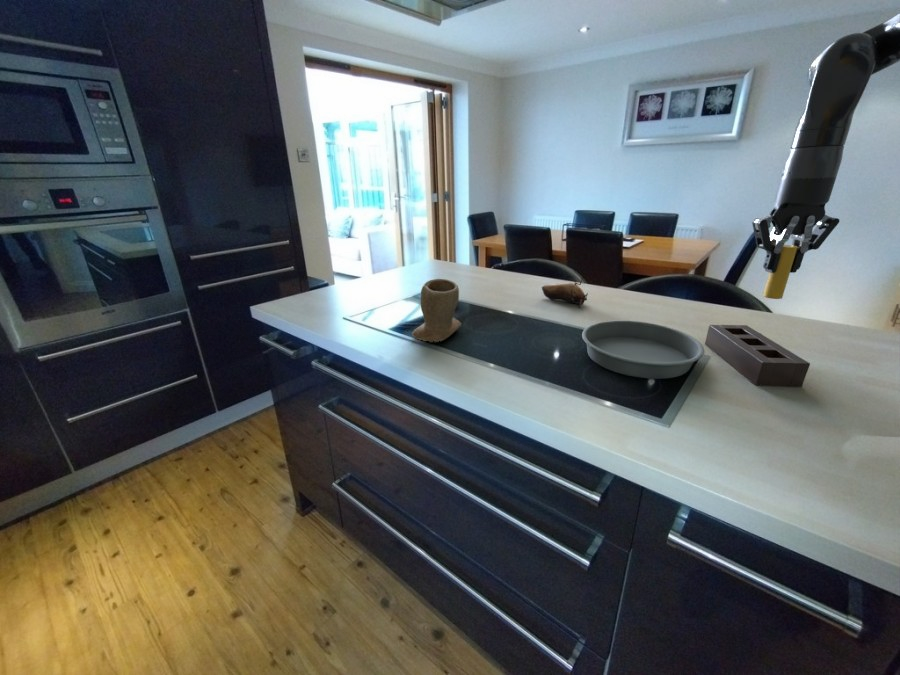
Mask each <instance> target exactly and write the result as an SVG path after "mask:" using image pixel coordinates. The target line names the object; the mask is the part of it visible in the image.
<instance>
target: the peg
mask: <svg viewBox="0 0 900 675" xmlns="http://www.w3.org/2000/svg"><path fill="white" fill-rule="evenodd" d="M797 248H798V247H797V246H793V245H792V244H784V246H783V248H782V250H781V252H780V254H781V255H780V259H779V262H778V266H777V269H776V272H775V273H769V272H768V273H769V274H768V277H767V281H766V284H765V287H764V291H763V297H765V298H767V299H771V300H782V299H783V297H784V294H785V290H786V288H787V285H788V284H787V283H788V281H789V277H790V274H791V273H790V271H791V267H792V264H793V261H794V257H795V254H796V251H797Z"/></svg>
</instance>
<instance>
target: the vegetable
mask: <svg viewBox="0 0 900 675" xmlns="http://www.w3.org/2000/svg"><path fill="white" fill-rule="evenodd" d="M584 278H585V277H584V276H581V278H578V279H577V280H578V281H579V283H578V282H577V281H575V280H574V282H569V281H567V282H560V283H553V284H544V285H542V286H541V290H542V293H543V295H544V296H545V298H547V299H549V300H555V301H556V300H558V301H564V302H568V303H571V304H576V305H577V306H578V308H581V307H582V305H583V304H584V303H585V301H588V295H589V292H587V293H585V291H584V290H583V289H582V288H581V287H580V285H582V284H584V283H583V282H582V281H583V279H584Z"/></svg>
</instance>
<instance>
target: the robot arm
mask: <svg viewBox="0 0 900 675" xmlns="http://www.w3.org/2000/svg"><path fill="white" fill-rule="evenodd" d="M899 62H900V12H898V13H897V14H895V15H894V16H893V17H891V18H889V19H887V20H885V21H883V22H882V23H879V24H877V25H875V26H874V27H871V28H869V29H867V30H866V31H863V32H854V33H850V34H847V35H844V36H842V37H840V38H838V39H836V40H835V41H833V42H832V43H831V44H830V45H828V46H827V47H826V48H825V49H824V50H823V51H822V52H820V54H819V55H818V56H817V57H815V59H814V60H813V62H812V63H811V64H810V67H809V69H808V72H807V74H806V76H807V77H806V80H807V85H808V87H809V88H810V89H809V93H808V97H807V101H806V105H805V109H804V111H803V112H802V114H801V116H800V117H799V119H798V121H797V123H796V126H795V130H794V133H793V137H792V141H791V144H790V149H789V151H788V154H787V156H786V159H785V161H784V164H783V167H782V171H781V175H780V179H779V183H778V186H777V190H776V193H775V198H774V205H773V209H772V210H771V211H770V212H769V215H766V216H763V217H761V218H753V220H752V222H751V224H752V229H753V233H754V239H755V244H756V247H757V249H761V250H763V251H765V252H766V255H765V258H764V262H763V265H762V266H763V269H764V271H765V272H767V273H775V272H776V269H777V266H778V262H779V259H780V255H781V254H780V252H781V250H782V248H783V246H784V245H786V242H788V241H789V239H790V238H791V239H792V242H791V243H792V244H791V245H793V246H797V247H798V248H797V251H796V254H795V257H794V261H793V264H792V267H791V271H790V274H791V273H792V274H793V273H794V274H795V273H796V272H797V270H800V268H801V266H802V262H803V259H804V256H805V254H806V253H807V252H808V251H812V250H818V249H820V247H821V246H822V245H823V243H824V242H825V241H826V240H827V238H828V237H829V236H830V235H831V233H832V232H833V231H834V230H835V229H836V227H837V226H838V225H839V223H840V221H841V220H840V218H837V217H832V216H829V215H827V214H826V204H828V203H829V201H830V199H831V195H832V193H833V189H834V186H835V183H836V180H837V176H838V173H839V170H840V167H841V164H842V160H843V154H844V148H845V145H846V143H847V142H846V141H847V139H848V136H849V132H850V130H851V126H852V122H853V118H854V114H855V112H856V109H857V107H858V105H859V103H860V101H861V99H862V98H863V94H864V92H865V90H866V88H867V87H868V86H867V85H868V84H869V81H870V79H871V77H872V76H873V75H875V74H877V73H879V72H881V71H883V70H885V69H887V68H889V67H891V66H893V65H895V64H897V63H899ZM771 224H772V226H773V229H772V231H771V232H770V228H771V227H772V226H771ZM814 227H815V228H814Z"/></svg>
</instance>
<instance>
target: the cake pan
mask: <svg viewBox="0 0 900 675" xmlns="http://www.w3.org/2000/svg"><path fill="white" fill-rule="evenodd" d="M581 338H582V340H583V341H584V343H585V344H586V350H587V355H588V357H589V358H590V359H591V360H592V361H593V362H594V363H596V364H597V365H598V366H600V367H602V368H604V369H606V370H607V371H611V372H614V373H616V374H617V373H618V374H621V375H623V376H628V377H633V378H640V379H648V380H649V379H650V380H664V379H665V380H666V379H673V378H677V377H680V376H683V375H685V374H686V373H688V372H689V371H690V369H691V367H692V366H693V364H694V363H695V362H696V361H699V360H701V358H703V356H704V355H705V348H704V345H703V343H701V342H700V341H699V340H698V339H697V338H695V337H693V336H692V335H690V334H688V333H686V332H683V331H681V330H679V329H677V328H673V327H669V326H666V325H662V324H657V323H651V322H645V321H638V320H608V321H601V322H597V323H596V322H595V323H593V324H591V325H588V326H587V327H585V328H584V329H583V331H582V334H581Z"/></svg>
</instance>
